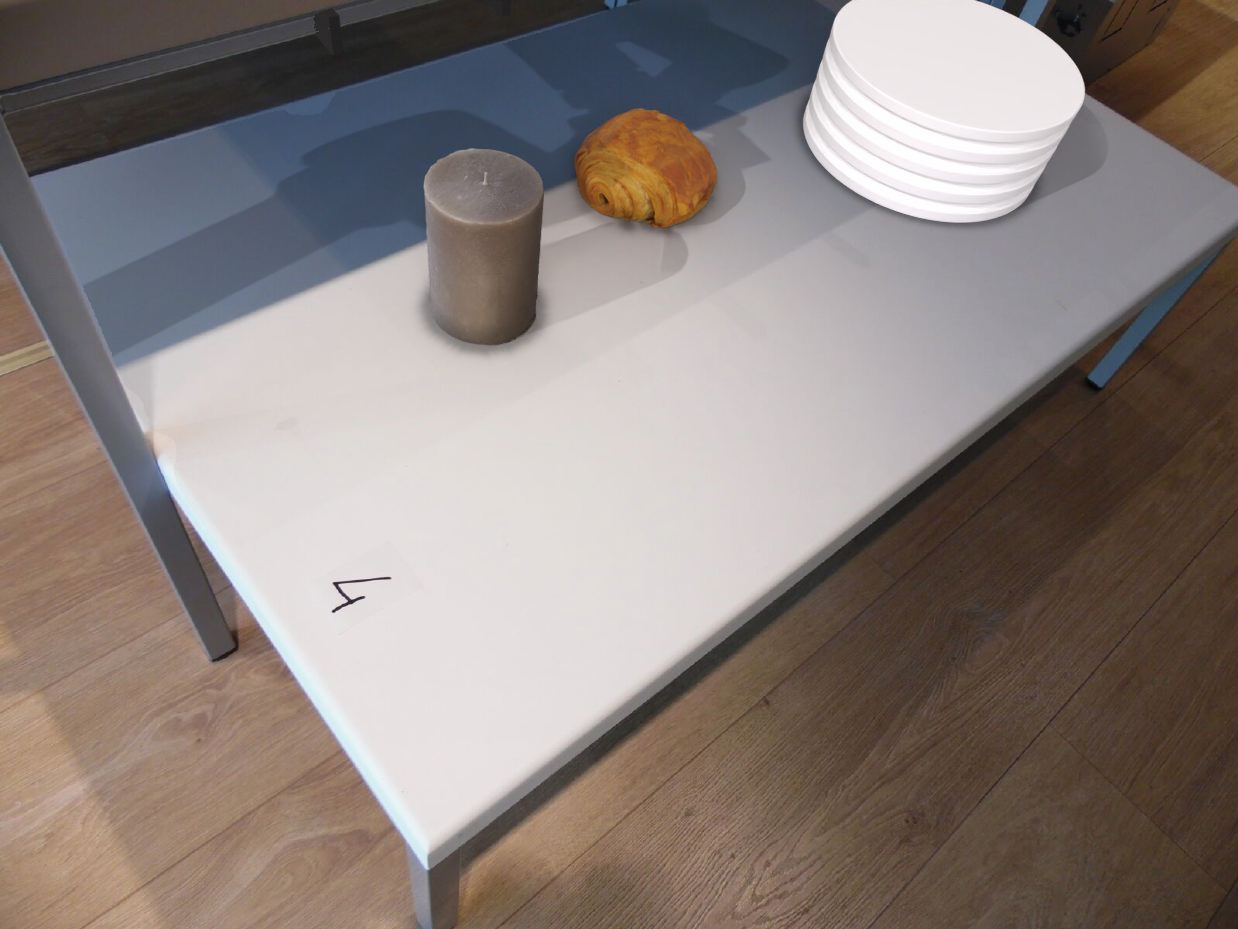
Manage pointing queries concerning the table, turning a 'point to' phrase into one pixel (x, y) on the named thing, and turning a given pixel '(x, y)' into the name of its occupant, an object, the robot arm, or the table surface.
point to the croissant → (645, 169)
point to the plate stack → (940, 106)
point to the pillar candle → (483, 244)
